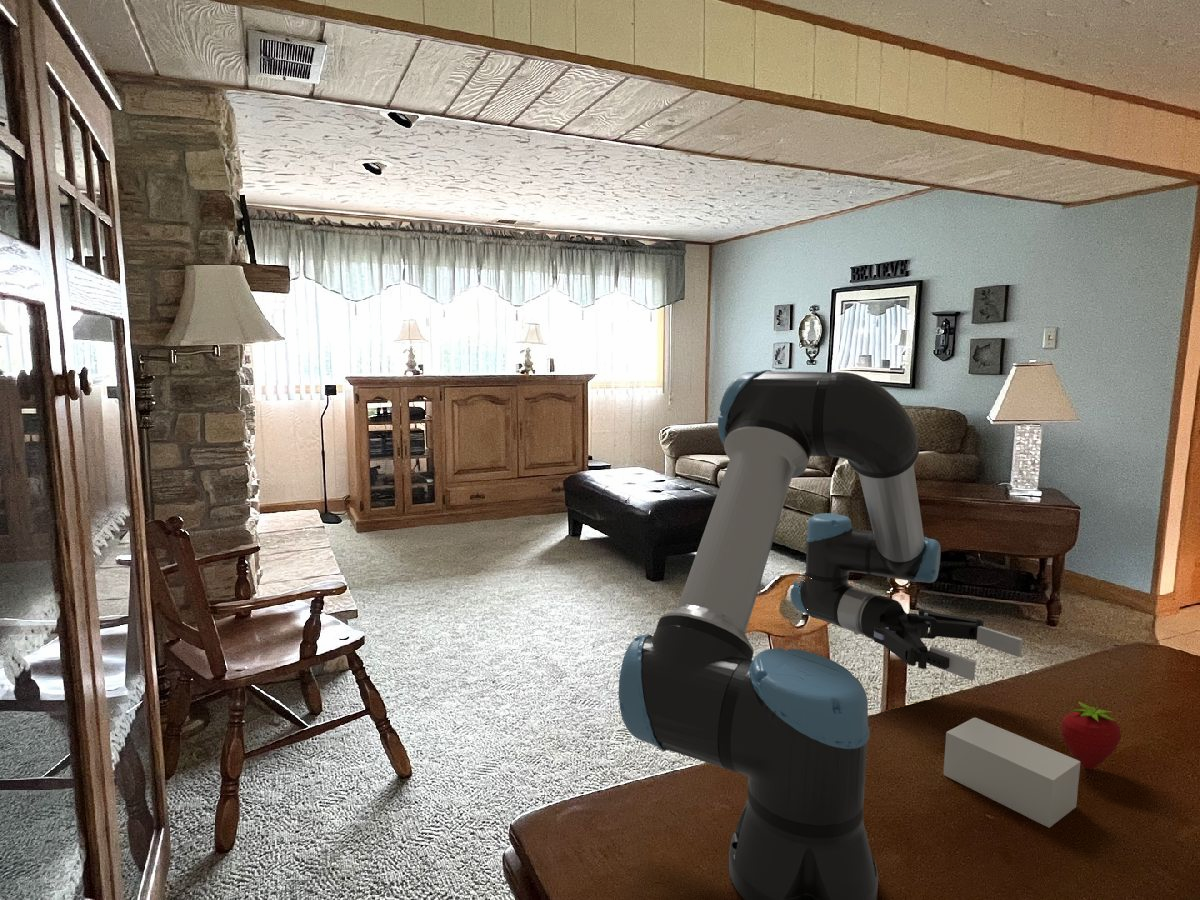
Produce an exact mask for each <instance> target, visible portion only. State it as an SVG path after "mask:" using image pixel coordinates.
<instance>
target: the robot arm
mask: <svg viewBox="0 0 1200 900" xmlns="http://www.w3.org/2000/svg"><path fill="white" fill-rule="evenodd" d="M719 405H720V406H719V412H720V414H719V416H718V417H717V428H718V429H717V431H718V435H719V439H720V441H721V443H722V445H723V449H724V453H725V454H726V456H727V457H728V459H729V461H728V463H727V466H726V469H725V472H724V474H723V478H722V480H721V483H720V486H719V488H718V492H717V495H716V497H715V500H714V503H713V506H712V508H711V512H710V514H709V517H708V520H707V523H706V525H705V529H704V532H703V534H702V536H701V540H700V543H699V546H698V547H697V551H696V554H695V557H694V559H693V562H692V565H691V568H690V571H689V574H688V576H687V578H686V583H684V588H683V590H682V593H681V596H680V599H679V602H678V604H677V607H676V609H674V610H672V611H669V612H667V613H664V614H663V615H661V616H660V617H659V620H658V623H657V625H656V628H655V631H654V633H653V635H652V634H650V633H646V634H641V635H637V636H636V637H635V638H634V640H633V641H631V642H630V644H628V646H627V649H626V651H625V652H624V656H623V660H622V663H621V666H620V673H619V679H618V700H619V710H620V711H619V712H620V715H621V718H622V721H623V724H624V726H625V728H626V729H627V731H628V732H629V733H630V735H632V736H633V737H634V738H635V739H637V740H639V741H642V742H645V743H647V744H650V745H653V746H655V747H657V748H658V750H660V751H663V752H666V751H669V752H673V753H677V754H680V755H683V756H685V757H689V758H693V759H695V760H698V761H702V762H705V763H708V764H710V765H713V766H716V767H719V768H722V769H724V770H729V771H732V772H734V773H738V774H741V775H744V776H746V777H747V786H748V787H747V800H746V802H745V804H744V807H743V809H742V812H741V815H740V817H739V820H738V822H737V825H736V827H735V830H734V832H733V834H732V836H731V838H730V839H731V840H730V843H729V844H730V845H729V850H728V851H729V857H728V871H729V877H730V879H731V882H732V884H733V886H734V888H735V891H737V893H738V894H739V895H740V898H742V899H743V900H878V889H879V888H878V886H879V873H878V868H877V863H876V860H875V858H874V856H873V854H872V852H871V847H870V843H869V840H868V839H869V838H868V835H867V831H866V828H865V825H864V824H865V823H864V802H865V786H866V783H865V782H866V768H867V752H868V741H869V738H870V734H871V732H870V731H871V730H870V724H869V712H868V711H869V704H868V695H867V693H866V690H865V688H864V685H862V683H861V681H860V680H859V679H858V678H857V677H856V676H854V675H853V673H852V672H851V671H850V670H848V669H847V668H845V666H843V665H841V664H840V663H837V662H836V661H834V660H833V659H830V658H828V657H825V656H823V655H821V654H818V653H814V652H811V651H808V650H802V649H798V648H797V649H796V648H788V650H786V649H784V648H781V647H775V648H769V649H765V650H763V651H760V652H759V653H757V654H756V655H755V656H754V647H753V646H752V644H751V642H750V641H749V639H748V637H747V630H748V627H749V623H750V620H751V616H752V613H753V609H754V606H755V602H756V600H757V596H758V592H759V590H760V586H761V582H762V580H763V576H764V573H765V570H766V566H767V562H768V559H769V556H770V553H771V549H772V546H773V544H774V542H773V541H774V539H775V536H776V531H777V528H778V526H779V522H780V519H781V515H782V512H783V508H784V505H785V501H786V500H787V499H786V497H787V494H788V491H789V488H790V484H791V483H792V482H791V481H792V479H795V478H798V477H800V476H801V475H802V474H804V473H805V472H806V470H807V468H808V464H809V461H810V457H825V458H839V459H844V460H847V463H848V464H849V466H850V468H851V469H852V470H853V471H854V472H855V473H857V474H858V477H859V481H860V485H861V489H862V492H863V497H864V501H865V505H866V509H867V513H868V517H869V521H870V524H871V530H872V531H871V530H866V529H865V530H863V529H856V528H853V525H852V520H851V519H850V517H848V516H846V515H843V514H842V515H841V514H839V513H832V512H831V513H828V512H825V513H822V512H821V513H817V514H814V515H812V516H811V517H810V518H809V519H808V525H807V535H806V539H805V541H806V547H805V548H806V551H805V552H806V553H805V558H806V559H805V572H804V573H801V574H800V575H805V576H808V577H810V578H812V579H809V578H807V577H804V576H803V578H805V579H801V578H800V580H804V581H805V582H804V581H795V580H794V581H793V583H792V584H793V586H792V588H791V589H790V600H791V603H792V606H793V607H794V608H795V609H796V610H797V611H799V612H801V613H803V614H806V615H807V616H810V617H811V618H812V619H817V620H820V621H823V622H826V623H828V624H831V625H835V626H837V627H840V628H842V629H845V630H847V631H850V632H853V634H854V635H857V636H858V635H862V636H865V637H867V638H869V639H870V640H873V642H874V643H876V644H879V645H882V646H883V647H885V648H886V649H887V650H889V652H891V653H893V654H894V655H895V656H896V657H898V658H899V659H900V660H901V661H903V662H904V663H906V664H907V665H908V666H910V667H911V666H912V667H913V666H916V665H917V667H918V668H919V669H920V670H926V669H927V665H930V666H932V667H935V668H937V669H940V670H943V671H946V672H948V673H951V674H954V675H955V676H959V677H960V678H961V677H962V678H964V679H966V680H969V681H973V680H975V675H976V663H977V662H976V661H975V660H973V659H971V658H968V657H965V656H962V655H959V654H957V653H953V652H951V651H948V650H945V649H943V648H940V647H937V646H933V645H932V646H929V648H928V646H927V645H926V644H925V643H924V641H922V639H927V640H929V639H930V640H934V639H935V638H936V637H939V638H950V639H961V640H969V641H970V640H972V641H973V640H974V641H976V644H979V645H983V646H985V647H988V648H991V649H994V650H996V651H997V650H998V651H1000V652H1003V653H1005V654H1009V655H1012V656H1015V657H1018V658H1020V657H1022V651H1023V638H1020V637H1018V636H1014V635H1010V634H1009V633H1005V632H1001V631H998V630H996V629H993V628H988V627H985V626H984V622H985V621H984V620H982V619H980V618H970V617H964V616H957V615H951V614H946V613H945V614H944V613H938V612H934V611H929V610H925V609H919V610H918V613H915V612H914V613H913V612H908V613H907V612H906V611H905V609H904V607H903V605H902V603H900V602H899V601H898V600H896V599H893V598H890V597H888V596H884V595H882V594H881V595H880V594H879V595H878V594H877V593H875V592H872V591H869V590H865V589H862V588H858V587H855V586H851V585H849V578H850V577H849V576H850V572H853V573H860V574H865V575H873V576H879V577H885V578H890V579H897V580H903V581H908V582H912V583H914V582H917V583H920V582H921V583H929V584H931V583H934V582H936V580H937V579H938V576H939V572H940V565H941V552H942V551H941V549H942V548H941V543H940V542H939V541H938V540H936V539H934V538H928V537H927V536H924V535H925V534H924V529H923V522H922V515H921V514H922V513H921V508H920V501H919V495H918V487H917V481H916V480H917V479H916V472H915V467H914V466H915V463H916V462H917V460H918V457H919V454H920V443H919V438H918V432H917V429H916V427H915V425H914V422H913V420H912V418H911V417H910V415H909V413H908V412H907V411H906V410H905V408H904V407H903V405H902V404H901V403H900V401H898V400H897V399H896V398H895V396H894V395H893V394H891V393H890V392H888V391H887V389H885V388H883V387H882V386H881V385H879V384H878V383H876V382H875V381H873V380H871V379H869V378H867V377H865V376H862V375H859V374H857V373H852V372H847V371H835V372H831V371H830V372H828V371H827V372H826V371H825V372H824V371H823V372H822V371H818V372H817V371H779V370H778V371H775V370H770V369H765V370H759V371H747V372H744V373H741V374H739V375H738V376H736V377H735V378H734V379H733V380H732V381H731V382H730V383H729V384H728V386H727V387H726V389H725V392H724V394H723V396H722V398H721V401H720V404H719ZM797 577H802V576H799V575H797ZM797 577H796V578H795V579H799V578H797ZM814 581H815V582H814ZM797 582H800V584H799V583H797ZM799 586H800V587H799ZM801 589H802V590H801ZM804 593H805V594H804ZM807 609H808V610H807ZM928 649H929V650H928ZM753 657H754V658H753Z"/></svg>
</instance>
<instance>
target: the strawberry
mask: <svg viewBox="0 0 1200 900" xmlns="http://www.w3.org/2000/svg"><path fill="white" fill-rule="evenodd" d="M1089 697H1090V698H1091V699H1092V700H1093V702H1094V703H1095V705H1096V707H1095V706H1089V705H1087V704H1085V703H1082V702H1081V701H1078V702H1077V703H1078V704H1079V705H1080V707H1081V708H1080V709H1078V708H1077V709H1070V710H1069V711H1070V713H1067V714H1066V715H1065V716H1064V717H1063V718H1062V721H1061V724H1060V731H1061V734H1062V738H1063V741H1064V743H1065V744H1066V746H1067V747H1068V749H1069V751H1070V752H1071V754H1072V755H1073V756H1074V757H1075V759H1076V760H1078V761H1080V766H1082V768H1084V769H1086V770H1093V769H1095V768H1096V767H1097V766H1098V765H1099V764H1101V763H1102V762H1104V761H1105V760H1106V759H1108V758H1109V756H1111V754H1112V753H1113V752H1115V751H1116V749H1117V746H1118V744H1119V743H1120V740H1121V738H1122V733H1121V728H1120V725H1119V724H1118V723H1117V720H1116V719H1114V718H1112V717H1110V716H1109V715H1107V714H1113V713H1114V711H1109V710H1103V709H1098V708H1099V705H1098V703H1097V702H1096V700H1095V699H1094V698H1093V696H1092V695H1091V694H1089Z"/></svg>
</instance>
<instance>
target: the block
mask: <svg viewBox="0 0 1200 900" xmlns="http://www.w3.org/2000/svg"><path fill="white" fill-rule="evenodd" d="M944 744H945V747H944V757H943V758H944V760H943V775H944V776H945V777H947V778H949V779H951V780H953V781H954V782H957V783H959V784H960V785H962V786H965V787H967V788H969V789H970V790H973V791H975V792H976V793H978V794H981V795H983V796H984V797H987V798H989V799H990V800H992V801H995V802H997V803H999V804H1001V805H1003V806H1004V807H1006V808H1008V809H1010V810H1013V811H1014V812H1017V813H1019V814H1021V815H1023V816H1025V817H1027V818H1028V819H1031V820H1032V821H1035V822H1036V823H1038V824H1041V826H1045V827H1046V828H1051V827H1053V826H1054V825H1055V824H1056V823H1058V822H1059V821H1060V820H1061V819H1063V818H1064V817H1065V816H1067V815H1068V814H1070V812H1072V811H1073V810H1075V809H1076V808H1077V804H1078V803H1077V801H1078V800H1077V799H1078V793H1079V792H1078V791H1079V780H1080V770H1081V763H1080V761H1079V760H1078V759H1077V758H1073V757H1071V756H1069V755H1066V754H1065V753H1061V752H1059V751H1056V750H1054V749H1052V748H1049V747H1047V746H1045V745H1042V744H1040V743H1037V742H1035V741H1032V740H1030V739H1028V738H1026V737H1024V736H1021V735H1018V734H1016V733H1013V732H1011V731H1009V730H1007V729H1003V728H1002V727H999V726H996V725H994V724H992V723H990V722H987V721H985V720H983V719H980V718H977V717H972V718H971V719H968V720H967V721H965V722H963V723H961V724H959V725H958V726H956V727H955V726H954V728H951V729H949V730H948V731H946V732H945V743H944Z"/></svg>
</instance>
